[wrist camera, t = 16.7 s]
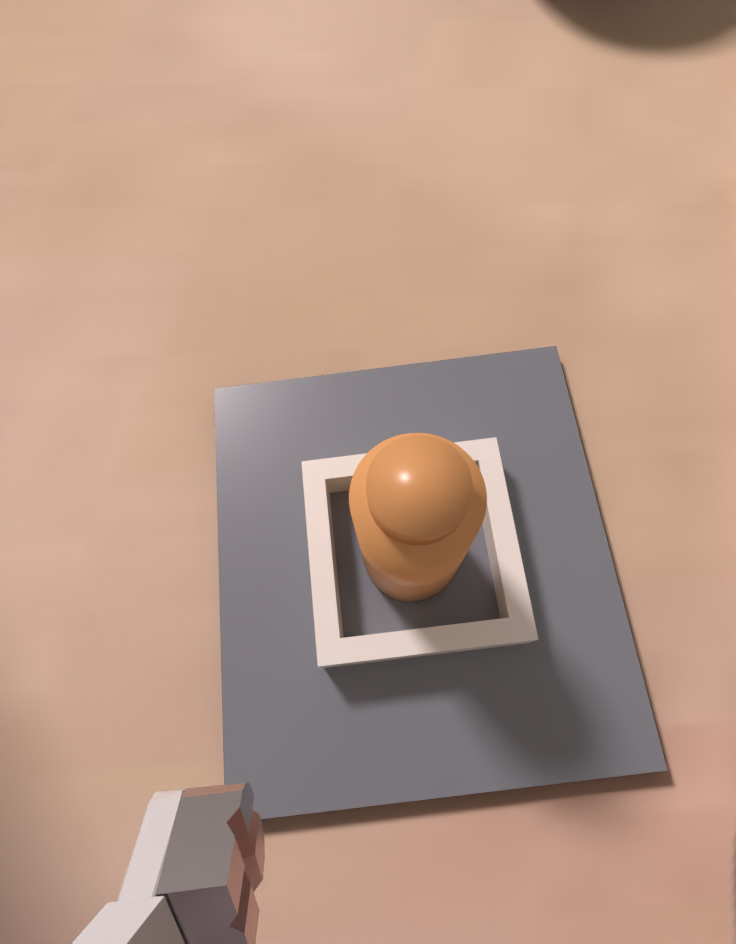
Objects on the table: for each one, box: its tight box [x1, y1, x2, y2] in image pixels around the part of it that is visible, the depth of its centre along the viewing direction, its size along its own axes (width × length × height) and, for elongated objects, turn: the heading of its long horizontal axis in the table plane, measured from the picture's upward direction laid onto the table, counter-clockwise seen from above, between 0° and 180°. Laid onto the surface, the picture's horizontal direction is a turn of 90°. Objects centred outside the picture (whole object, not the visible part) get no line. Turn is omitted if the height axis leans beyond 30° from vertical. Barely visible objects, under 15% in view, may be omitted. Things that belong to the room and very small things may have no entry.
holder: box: [214, 346, 668, 819], centre depth 27 cm, size 18×20×3 cm
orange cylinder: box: [349, 433, 487, 602], centre depth 22 cm, size 4×4×10 cm
